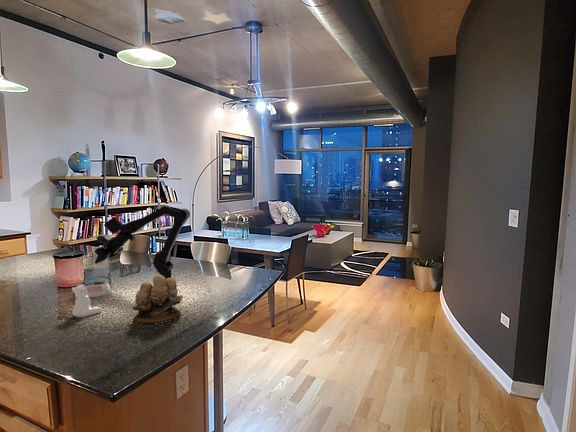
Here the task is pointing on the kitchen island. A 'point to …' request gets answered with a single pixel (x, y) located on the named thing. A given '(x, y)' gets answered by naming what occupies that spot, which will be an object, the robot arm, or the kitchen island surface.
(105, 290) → the baseplate
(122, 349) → the kitchen island surface
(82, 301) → the seated beast figurine
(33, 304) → the kitchen island surface
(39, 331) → the kitchen island surface
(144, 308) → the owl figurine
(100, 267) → the grey green upright block
